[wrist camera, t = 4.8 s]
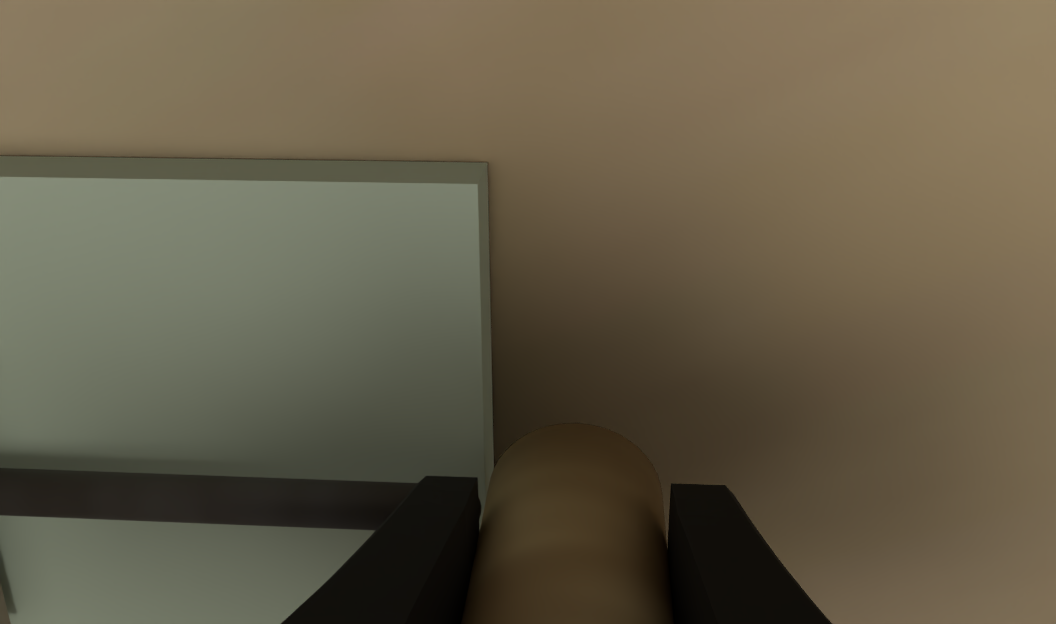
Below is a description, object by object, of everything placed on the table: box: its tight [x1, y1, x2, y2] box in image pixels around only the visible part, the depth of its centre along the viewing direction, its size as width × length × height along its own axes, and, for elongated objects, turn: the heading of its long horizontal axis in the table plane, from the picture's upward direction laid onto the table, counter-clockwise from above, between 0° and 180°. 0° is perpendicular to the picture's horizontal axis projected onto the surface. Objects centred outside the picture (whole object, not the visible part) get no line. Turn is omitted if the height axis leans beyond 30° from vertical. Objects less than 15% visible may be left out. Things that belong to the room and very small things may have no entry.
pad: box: [0, 156, 494, 624], centre depth 14 cm, size 9×8×1 cm
